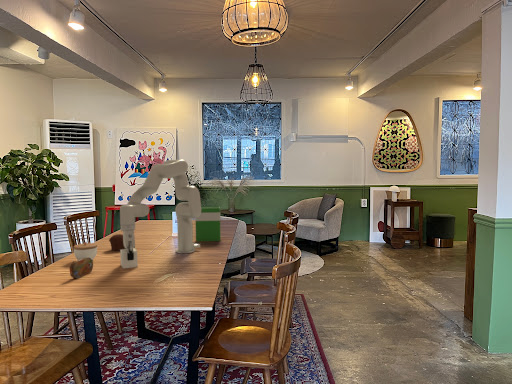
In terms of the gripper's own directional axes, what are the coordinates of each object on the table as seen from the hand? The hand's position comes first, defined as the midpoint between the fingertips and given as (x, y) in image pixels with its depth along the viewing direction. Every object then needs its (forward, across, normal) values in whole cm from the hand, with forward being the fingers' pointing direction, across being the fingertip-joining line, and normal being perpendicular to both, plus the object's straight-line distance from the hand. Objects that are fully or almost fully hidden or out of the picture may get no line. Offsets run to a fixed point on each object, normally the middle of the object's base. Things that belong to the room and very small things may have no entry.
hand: (129, 258), depth 205 cm
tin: (+4, -7, +24) cm, 26 cm away
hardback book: (+6, +46, -64) cm, 79 cm away
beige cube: (+4, 0, 0) cm, 4 cm away
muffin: (+5, +46, -1) cm, 46 cm away
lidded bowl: (+5, +25, +20) cm, 32 cm away
